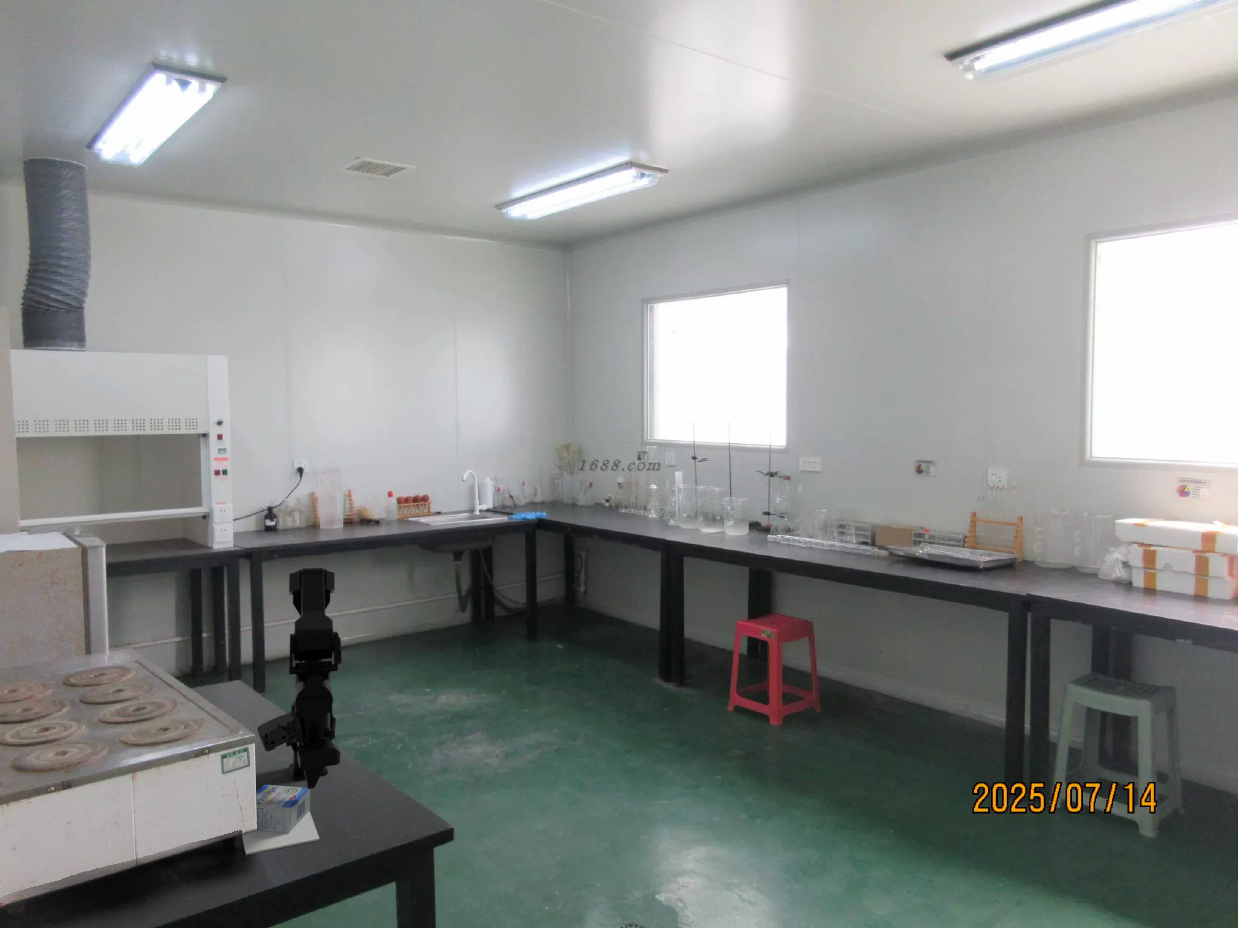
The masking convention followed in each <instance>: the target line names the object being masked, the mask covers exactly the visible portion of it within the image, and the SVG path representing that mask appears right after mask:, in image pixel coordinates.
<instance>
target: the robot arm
mask: <svg viewBox="0 0 1238 928" xmlns="http://www.w3.org/2000/svg"><path fill="white" fill-rule="evenodd" d="M335 574H336V573H335V572H333V571H329V570H328V569H327V568H324V567H302V569H299V570H296V571H295V572H291V573H289V575H288V595H289V596H292V604H293V605H292V606H293V607H294V608H295V610H296V611H297V613H298V615H299V617H298V618H297V619H296V620H295V621H294V630H293V631H294V633H290V634H289V662H288V663H289V668H288V669H289V671H288V674H289V675H294V699H293V700H292V702H291V704H290V711H289V712H287V713H285V714H282V715H279V716H276V717H274V718H272V719H270V720H268V721H266V722H264V723H262V724H260V725H258V727H257V728H256V729H257V733H258V736H259V738H260V741H261V743H262V746H263V748H264V751H265V752H271V751H275V749H276V748H277V747H280V746H282V745H284V744H285V745H286V746H285V747H290V746H291V749H292V763H290V764H289V765H288V769H289V772H290V774H291V777H292V778H291V779H292V780H300V779H305V782H306V788H308V789H310V790H311V789H315V787H316V785H317V784H318V781H319V779H320V777H321V776H322V775H328V774H329V770H328V768H327V767H332V766H337V765H339V764H341V751H340V749H339V747H338V744H337V743H335V742H334V741H333V740H334V739H336V723H337V722H336V721H337V719H336V717H335V716H334V714H333V704H334V697H333V696H334V695H333V690H332V689H333V688H332V683H331V682H332V680H331V677H332V674H331V673H332V672H338V671H339V665H341V664H342V638H341V637H340V636H339V633H338V631H334V621H333V619H332V618H331V617H329V616H327V614H326V610H327V608H328V606H329V604H330V602H331V594H335V589H336V588H335V586H336V585H335V581H336V579H335V577H336V576H335ZM332 659H333V661H332ZM293 661H294V662H295V665H294V663H293Z"/></svg>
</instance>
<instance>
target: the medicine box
mask: <svg viewBox="0 0 1238 928" xmlns="http://www.w3.org/2000/svg"><path fill="white" fill-rule="evenodd" d="M256 792H257V823H258V829H257V831H269V832H284V833H289V832H290V831H291V830H292V829H293V828H294V827H295V826H296V825H297V824H298V823H299V822H300V821H301V819H302V818H303V817H304V816H305V815H306V814H307V813H308V812H309V811H310V810H311V809H310V808H311V789H308V787H304V786H303V787H302V786H300V787H299V786H288V785H285V786H284V785H275V784H263V785H262V786H261V787H260V788H259V789H257V791H256Z"/></svg>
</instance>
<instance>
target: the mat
mask: <svg viewBox="0 0 1238 928" xmlns="http://www.w3.org/2000/svg"><path fill="white" fill-rule="evenodd" d="M241 837H242V843H243V848H244V852H245V853H246V854H245V856H248V855H253V854H258V853H262V852H266V851H267V852H268V851H271V850H278V849H283V848H287V847H293V846H297V845H303V844H306V843H307V844H308V843H312V842H317V841H320V836H319V834H318V831H317V828H316V826H315V822H314V819H313V817H312V814H311V812H310V811H309V812H308V813H307V814H306V815H305V816H304V817H303V818H302V819H301V821H300V822H299V823H298V824H297V825H296V826H295V827H294V828H293V829H292V830H291V831H290V832H289V833H284V832H269V831H256V832H251V833H247V834H246V835H242V834H241Z"/></svg>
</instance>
